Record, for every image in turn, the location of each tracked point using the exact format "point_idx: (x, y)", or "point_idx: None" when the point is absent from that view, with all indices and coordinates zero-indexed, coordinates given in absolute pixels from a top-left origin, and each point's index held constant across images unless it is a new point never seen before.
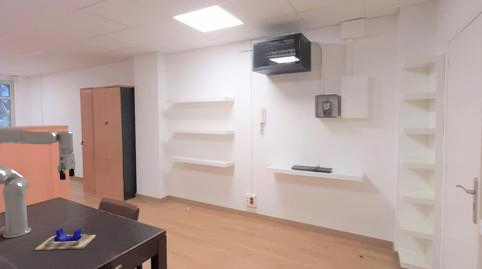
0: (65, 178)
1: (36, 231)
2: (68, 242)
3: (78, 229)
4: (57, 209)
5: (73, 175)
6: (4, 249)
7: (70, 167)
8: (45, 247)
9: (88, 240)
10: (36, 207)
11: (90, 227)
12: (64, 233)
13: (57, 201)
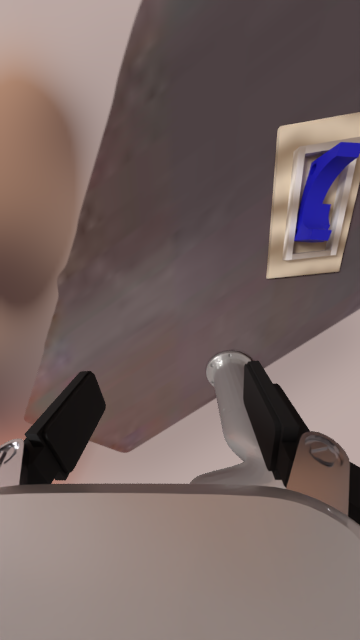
0: (257, 367)
1: (221, 340)
2: (352, 177)
3: (340, 150)
4: None
5: (90, 378)
6: (309, 339)
7: (177, 541)
8: (338, 247)
9: (325, 124)
10: None
11: (202, 205)
12: (304, 224)
13: (45, 410)
